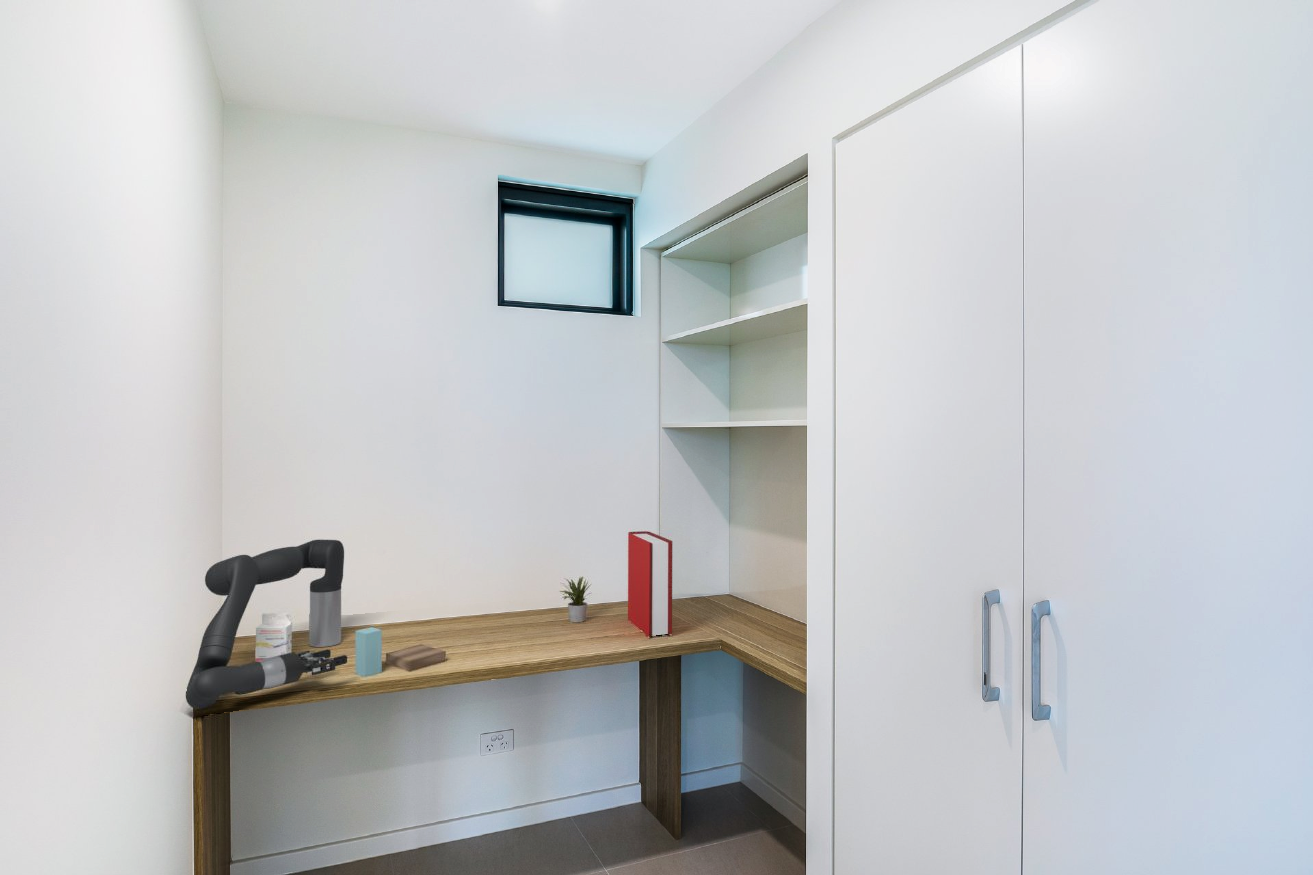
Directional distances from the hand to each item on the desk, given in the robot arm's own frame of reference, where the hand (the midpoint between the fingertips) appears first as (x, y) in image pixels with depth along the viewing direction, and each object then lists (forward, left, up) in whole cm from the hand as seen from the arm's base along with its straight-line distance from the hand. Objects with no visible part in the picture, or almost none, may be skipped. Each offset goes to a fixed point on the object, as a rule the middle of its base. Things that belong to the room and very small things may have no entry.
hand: (338, 655), depth 200 cm
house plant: (+4, +89, -7) cm, 89 cm away
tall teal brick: (0, +9, -7) cm, 11 cm away
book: (+31, +97, -7) cm, 102 cm away
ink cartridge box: (-28, -4, -7) cm, 29 cm away
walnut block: (+2, +23, -7) cm, 24 cm away
